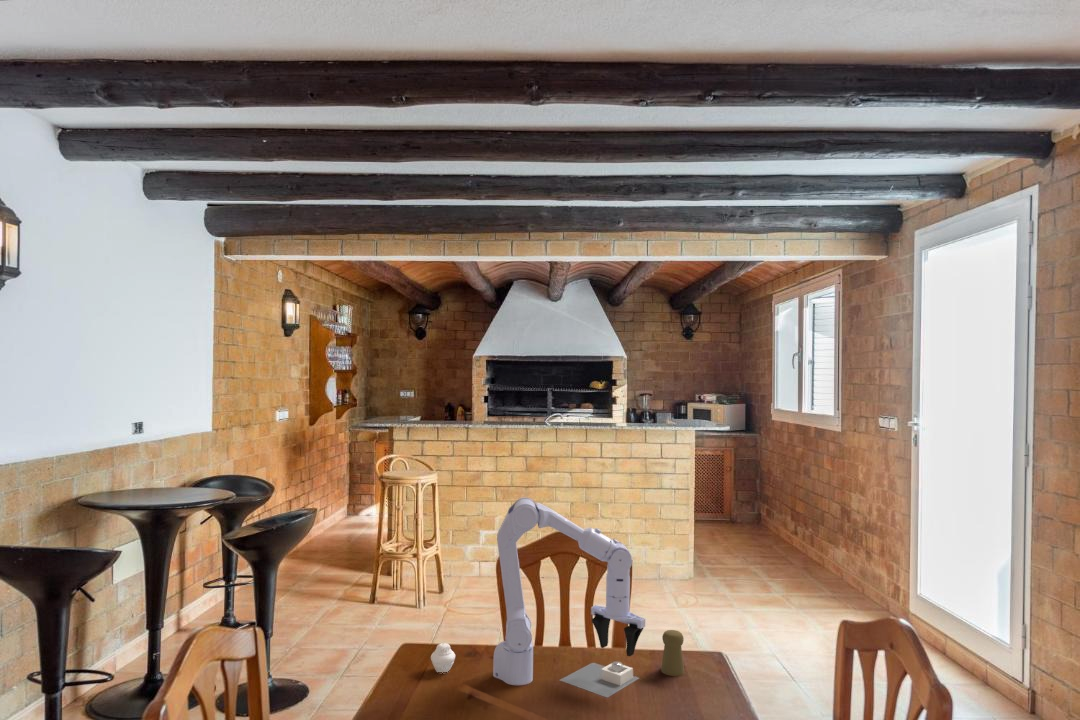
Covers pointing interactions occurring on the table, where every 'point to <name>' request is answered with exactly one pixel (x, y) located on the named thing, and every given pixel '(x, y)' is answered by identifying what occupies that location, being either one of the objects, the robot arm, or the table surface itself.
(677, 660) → the cork
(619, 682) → the collar
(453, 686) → the table surface
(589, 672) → the board
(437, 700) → the table surface
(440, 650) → the white rounded jar shape
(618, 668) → the post
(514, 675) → the robot arm
